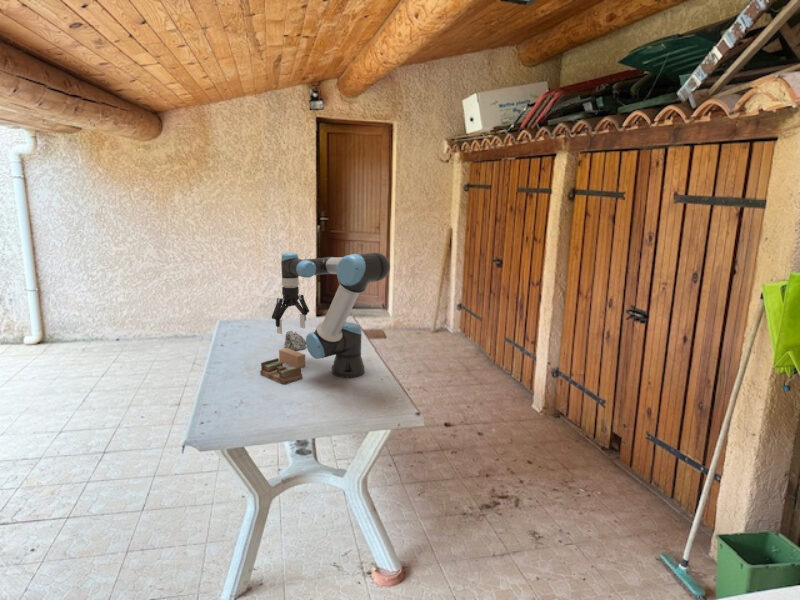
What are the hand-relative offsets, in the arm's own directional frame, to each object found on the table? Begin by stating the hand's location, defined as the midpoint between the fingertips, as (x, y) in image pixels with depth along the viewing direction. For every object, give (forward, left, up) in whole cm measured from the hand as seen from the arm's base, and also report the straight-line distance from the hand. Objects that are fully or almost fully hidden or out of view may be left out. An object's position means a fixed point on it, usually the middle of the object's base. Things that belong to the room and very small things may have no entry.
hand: (291, 330), depth 242 cm
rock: (+18, -17, -17) cm, 30 cm away
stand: (-10, +14, -17) cm, 24 cm away
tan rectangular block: (0, 0, -17) cm, 17 cm away
